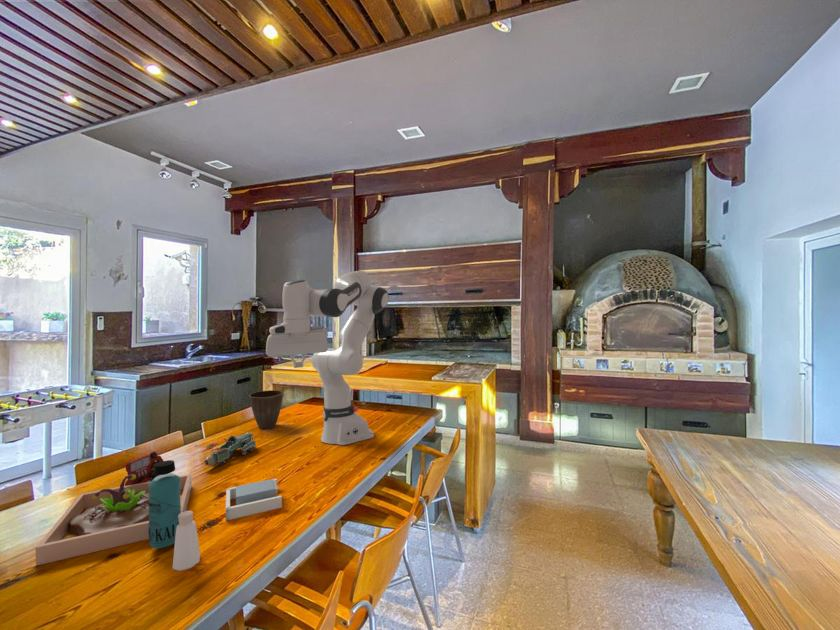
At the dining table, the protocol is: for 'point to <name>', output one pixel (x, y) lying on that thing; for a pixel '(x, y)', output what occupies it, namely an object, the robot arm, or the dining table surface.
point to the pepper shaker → (186, 543)
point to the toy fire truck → (143, 468)
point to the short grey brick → (256, 491)
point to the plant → (113, 511)
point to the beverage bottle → (163, 505)
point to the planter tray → (71, 547)
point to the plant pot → (266, 407)
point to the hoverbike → (231, 449)
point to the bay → (249, 505)
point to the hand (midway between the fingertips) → (298, 367)
